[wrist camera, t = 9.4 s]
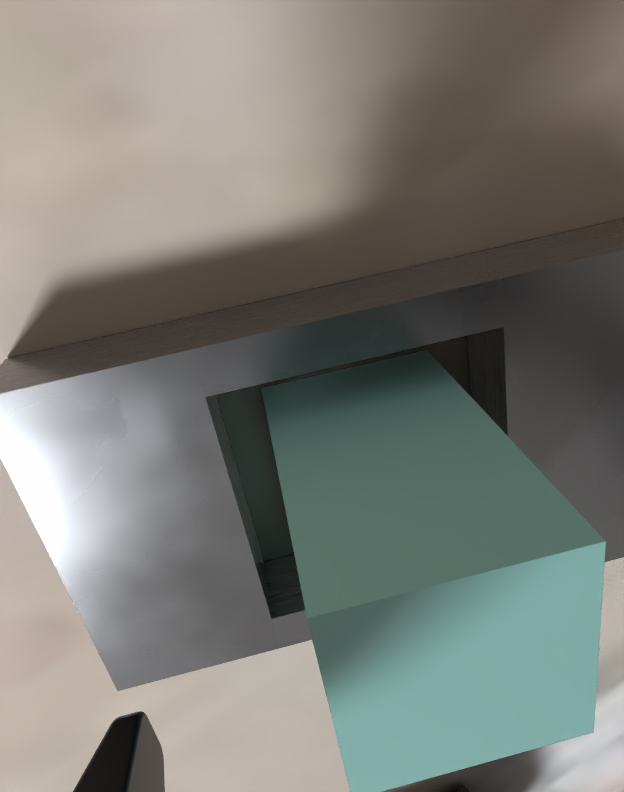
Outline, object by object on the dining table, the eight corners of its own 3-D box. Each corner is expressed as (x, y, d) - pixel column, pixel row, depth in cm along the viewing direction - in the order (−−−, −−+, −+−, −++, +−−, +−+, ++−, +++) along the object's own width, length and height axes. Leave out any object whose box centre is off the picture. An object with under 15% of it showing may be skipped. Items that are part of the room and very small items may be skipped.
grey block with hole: (876, 161, 14) (976, 168, 12) (808, 451, 17) (877, 489, 15) (5, 359, 12) (-28, 400, 11) (127, 626, 16) (117, 690, 14)
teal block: (427, 350, 14) (606, 541, 8) (440, 487, 16) (593, 732, 10) (260, 388, 14) (307, 618, 7) (293, 523, 15) (352, 799, 9)
